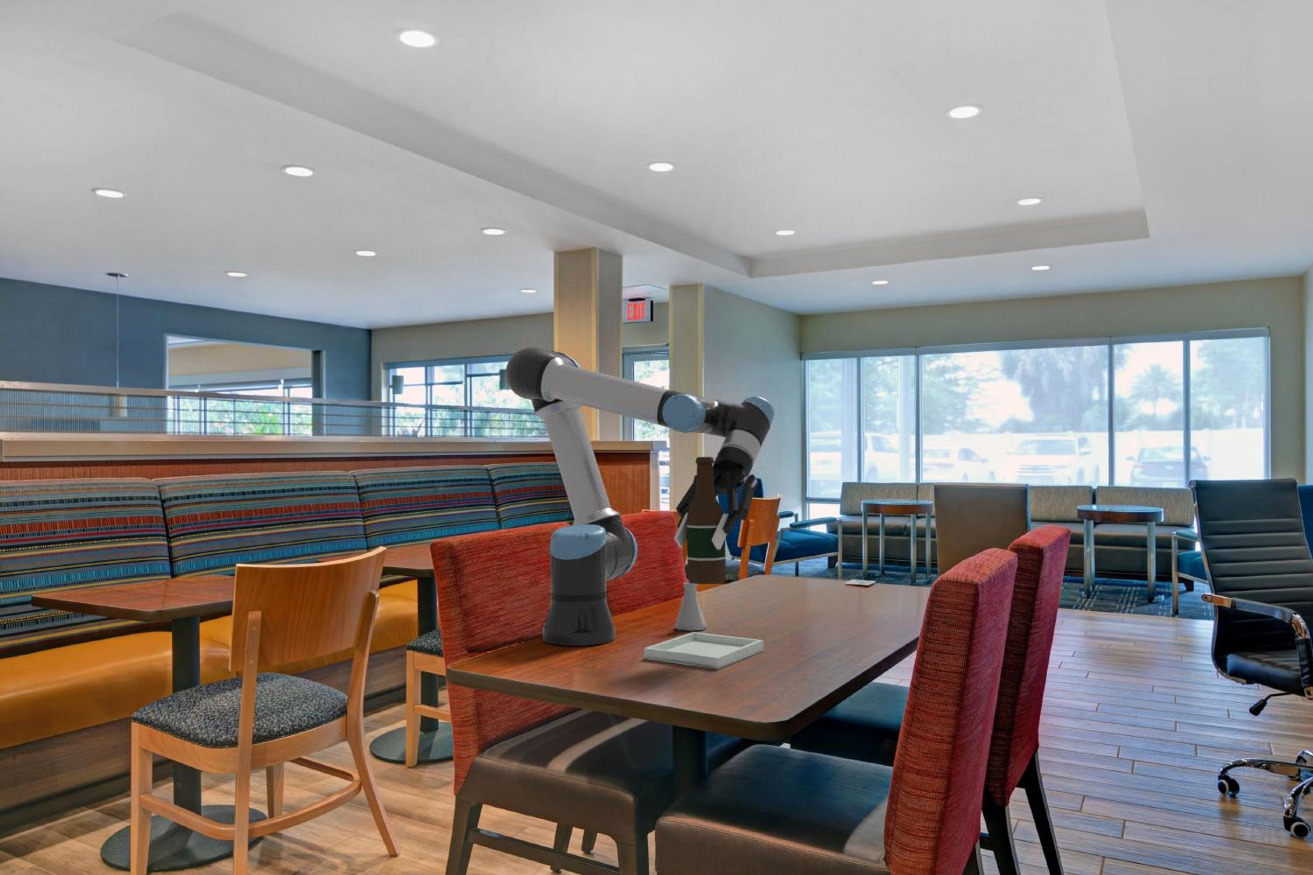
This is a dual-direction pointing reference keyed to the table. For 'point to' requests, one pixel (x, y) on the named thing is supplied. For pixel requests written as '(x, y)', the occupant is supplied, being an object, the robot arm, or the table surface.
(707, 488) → the beer bottle
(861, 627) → the table surface
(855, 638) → the table surface
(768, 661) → the table surface
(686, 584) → the flask
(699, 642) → the tray
